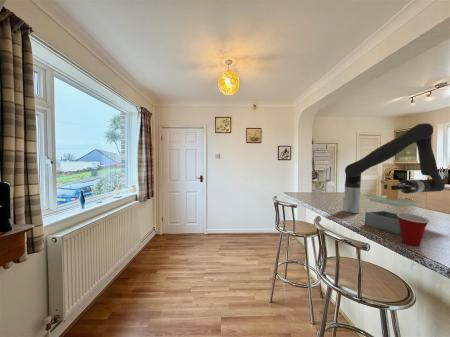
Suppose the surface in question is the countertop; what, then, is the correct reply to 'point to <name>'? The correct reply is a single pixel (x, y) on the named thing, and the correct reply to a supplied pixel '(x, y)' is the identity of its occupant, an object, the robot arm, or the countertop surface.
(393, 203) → the lid
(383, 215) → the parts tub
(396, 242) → the countertop surface
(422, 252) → the countertop surface
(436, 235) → the countertop surface
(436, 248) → the countertop surface
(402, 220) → the plastic cup
